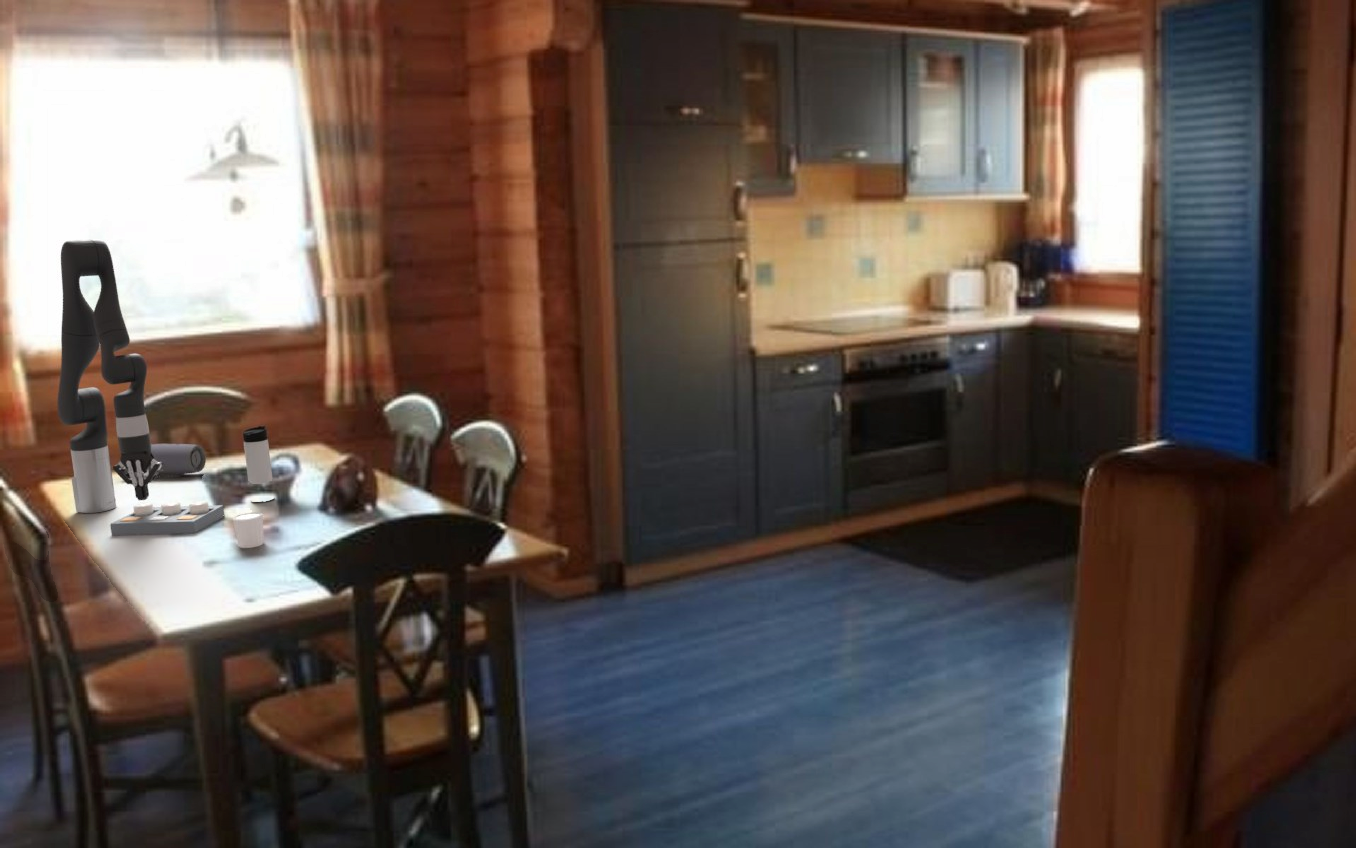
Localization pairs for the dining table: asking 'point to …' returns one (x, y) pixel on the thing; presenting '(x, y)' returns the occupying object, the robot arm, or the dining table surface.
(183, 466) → the bluetooth speaker
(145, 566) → the dining table surface
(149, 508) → the button
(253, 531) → the white cup
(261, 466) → the travel mug
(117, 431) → the robot arm
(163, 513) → the middle button
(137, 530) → the button board
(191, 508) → the button
